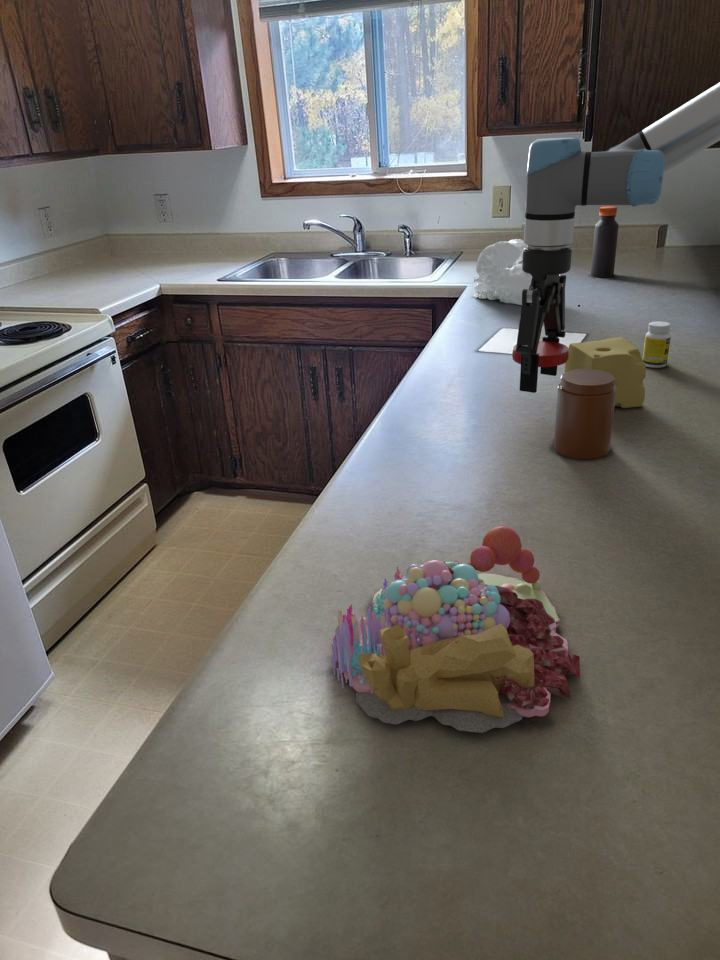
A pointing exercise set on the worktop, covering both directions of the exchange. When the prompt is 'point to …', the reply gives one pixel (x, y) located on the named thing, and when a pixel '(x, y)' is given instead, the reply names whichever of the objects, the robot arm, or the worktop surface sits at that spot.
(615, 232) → the vinegar
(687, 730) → the worktop surface
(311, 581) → the worktop surface
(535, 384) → the robot arm
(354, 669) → the pastel sphere sculpture
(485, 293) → the white plaster sculpture
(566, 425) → the jam jar
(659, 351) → the supplement bottle
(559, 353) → the lid
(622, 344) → the cheese
